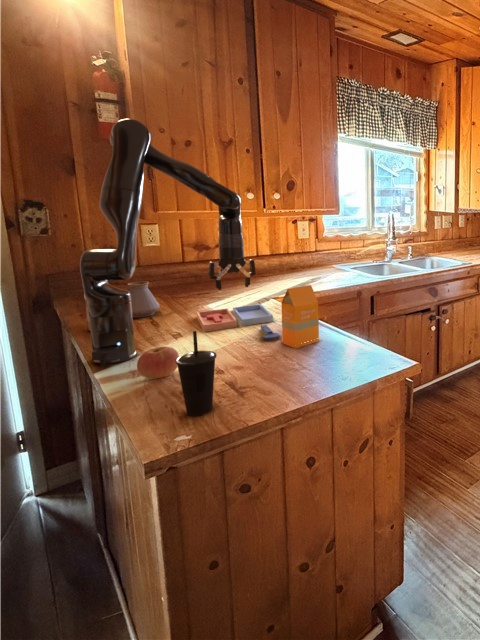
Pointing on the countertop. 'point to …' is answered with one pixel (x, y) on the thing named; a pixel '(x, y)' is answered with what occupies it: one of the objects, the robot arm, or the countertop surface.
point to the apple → (157, 362)
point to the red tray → (209, 325)
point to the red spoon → (214, 317)
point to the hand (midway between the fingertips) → (233, 288)
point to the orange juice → (300, 317)
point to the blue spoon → (269, 334)
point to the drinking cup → (197, 379)
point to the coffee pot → (142, 299)
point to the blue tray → (252, 314)
